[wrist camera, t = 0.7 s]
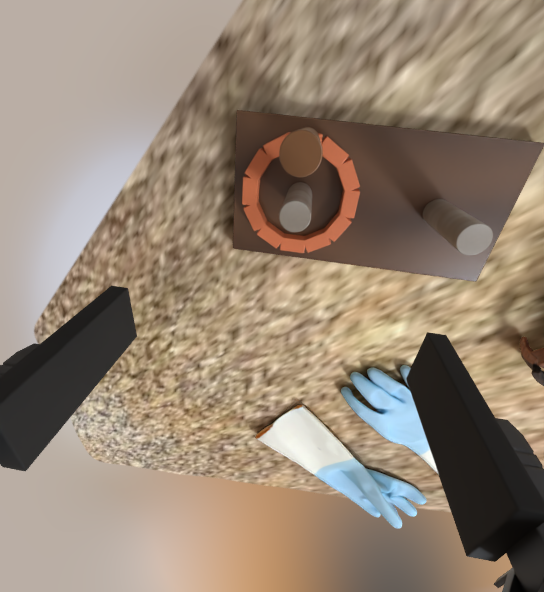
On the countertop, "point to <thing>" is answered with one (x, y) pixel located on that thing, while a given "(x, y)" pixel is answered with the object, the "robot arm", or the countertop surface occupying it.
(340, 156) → the ring
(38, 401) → the robot arm
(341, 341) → the countertop surface
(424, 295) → the countertop surface
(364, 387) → the rubber gloves
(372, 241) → the rack
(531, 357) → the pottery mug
